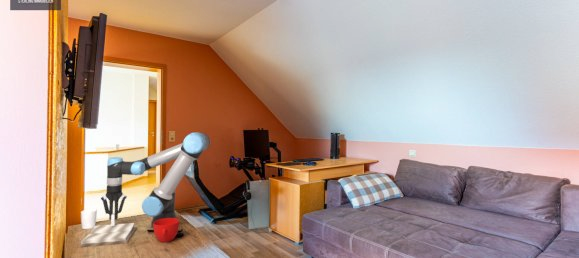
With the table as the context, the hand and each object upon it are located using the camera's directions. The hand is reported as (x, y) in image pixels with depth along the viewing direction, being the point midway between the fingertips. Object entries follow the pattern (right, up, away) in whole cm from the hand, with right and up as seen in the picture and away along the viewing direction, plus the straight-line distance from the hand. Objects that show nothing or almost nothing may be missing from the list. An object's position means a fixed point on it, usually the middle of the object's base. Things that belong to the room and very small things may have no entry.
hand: (113, 225), depth 168 cm
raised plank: (+1, -2, -2) cm, 4 cm away
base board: (+3, -4, -8) cm, 9 cm away
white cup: (-19, -4, +8) cm, 21 cm away
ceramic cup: (+35, -5, -12) cm, 37 cm away
